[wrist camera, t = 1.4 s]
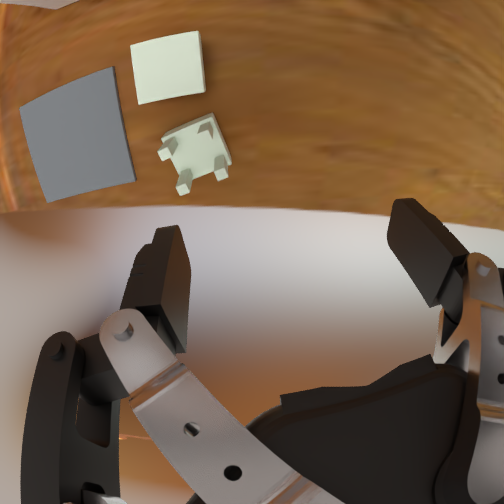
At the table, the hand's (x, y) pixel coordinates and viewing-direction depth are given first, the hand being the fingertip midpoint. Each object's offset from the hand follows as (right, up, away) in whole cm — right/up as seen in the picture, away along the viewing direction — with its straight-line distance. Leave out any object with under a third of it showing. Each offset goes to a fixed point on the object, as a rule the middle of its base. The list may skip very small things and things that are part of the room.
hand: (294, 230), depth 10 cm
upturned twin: (-7, +11, +19) cm, 23 cm away
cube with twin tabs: (-9, +18, +13) cm, 24 cm away
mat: (-23, +12, +15) cm, 30 cm away
